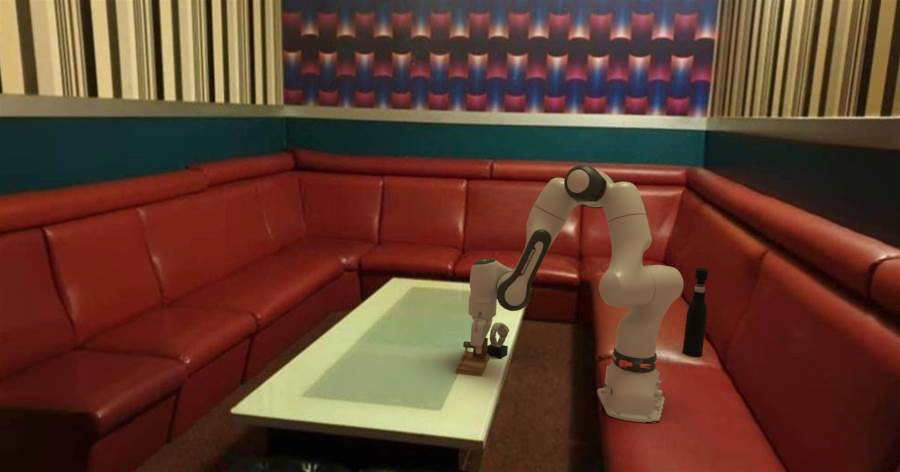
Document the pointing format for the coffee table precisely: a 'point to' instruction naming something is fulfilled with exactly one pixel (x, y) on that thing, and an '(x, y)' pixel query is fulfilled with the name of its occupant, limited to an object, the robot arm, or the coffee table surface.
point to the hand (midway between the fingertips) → (480, 349)
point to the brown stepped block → (468, 345)
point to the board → (471, 364)
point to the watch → (496, 347)
